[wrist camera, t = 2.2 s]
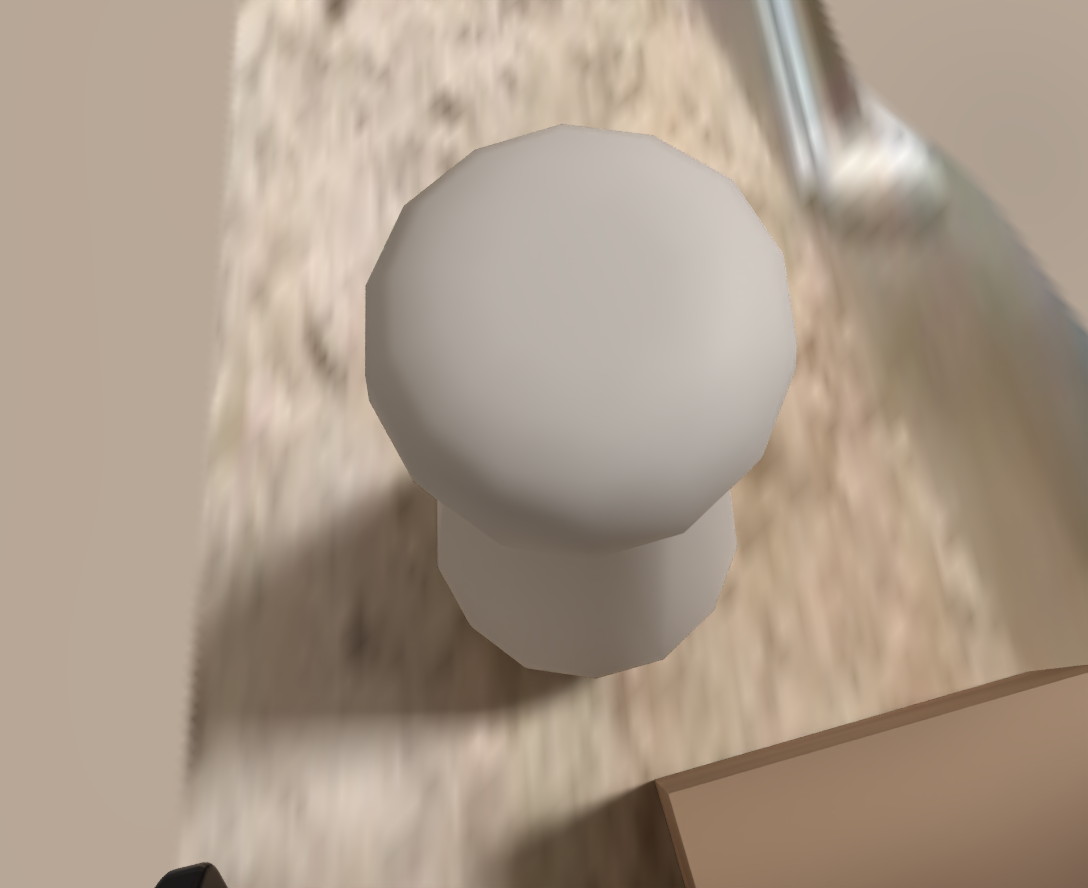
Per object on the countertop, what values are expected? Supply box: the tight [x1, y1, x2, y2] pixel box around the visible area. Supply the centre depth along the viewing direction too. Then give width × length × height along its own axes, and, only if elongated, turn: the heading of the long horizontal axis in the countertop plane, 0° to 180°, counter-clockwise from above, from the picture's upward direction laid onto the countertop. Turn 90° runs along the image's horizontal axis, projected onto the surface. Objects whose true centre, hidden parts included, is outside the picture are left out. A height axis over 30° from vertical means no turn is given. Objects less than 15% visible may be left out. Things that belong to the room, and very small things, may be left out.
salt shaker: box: [365, 124, 797, 678], centre depth 15 cm, size 6×6×13 cm
